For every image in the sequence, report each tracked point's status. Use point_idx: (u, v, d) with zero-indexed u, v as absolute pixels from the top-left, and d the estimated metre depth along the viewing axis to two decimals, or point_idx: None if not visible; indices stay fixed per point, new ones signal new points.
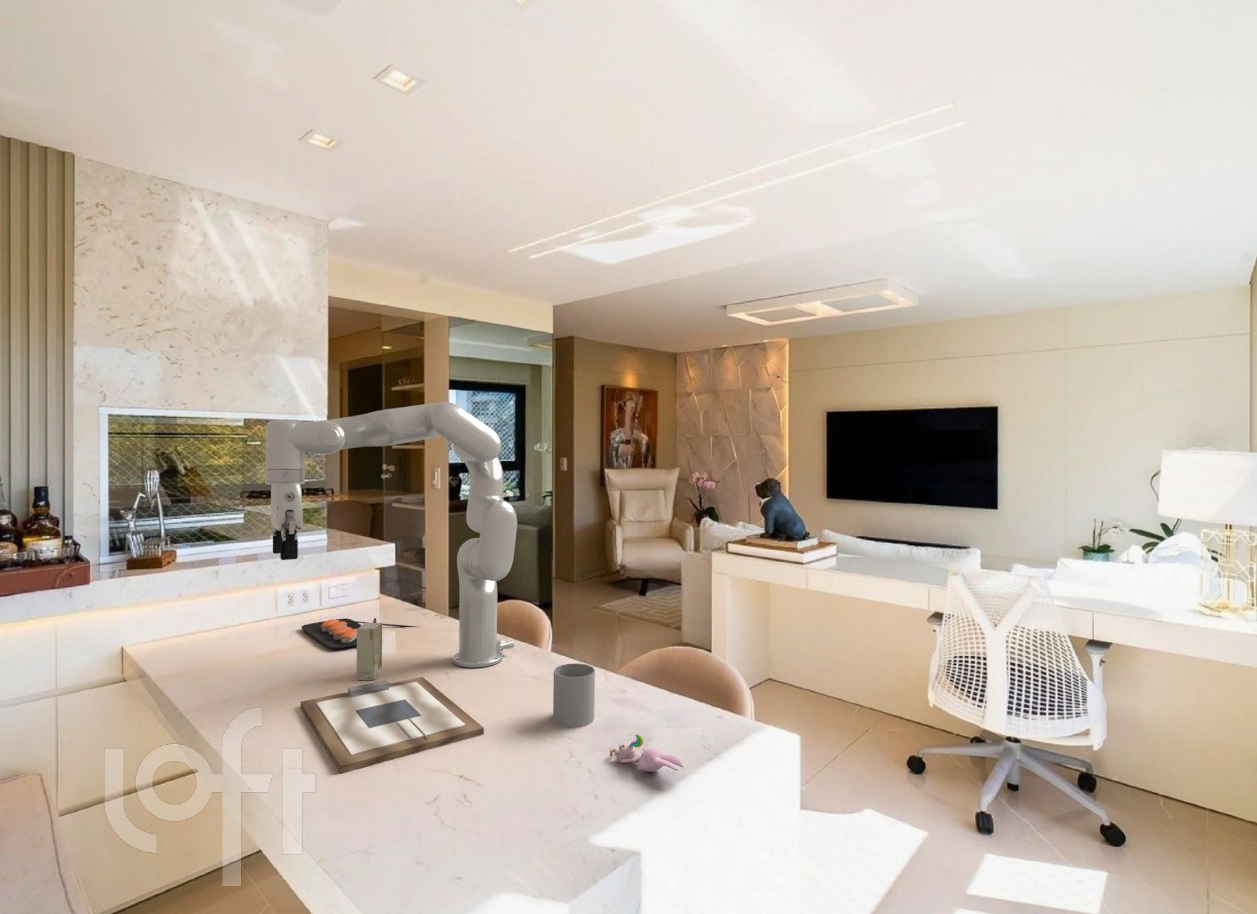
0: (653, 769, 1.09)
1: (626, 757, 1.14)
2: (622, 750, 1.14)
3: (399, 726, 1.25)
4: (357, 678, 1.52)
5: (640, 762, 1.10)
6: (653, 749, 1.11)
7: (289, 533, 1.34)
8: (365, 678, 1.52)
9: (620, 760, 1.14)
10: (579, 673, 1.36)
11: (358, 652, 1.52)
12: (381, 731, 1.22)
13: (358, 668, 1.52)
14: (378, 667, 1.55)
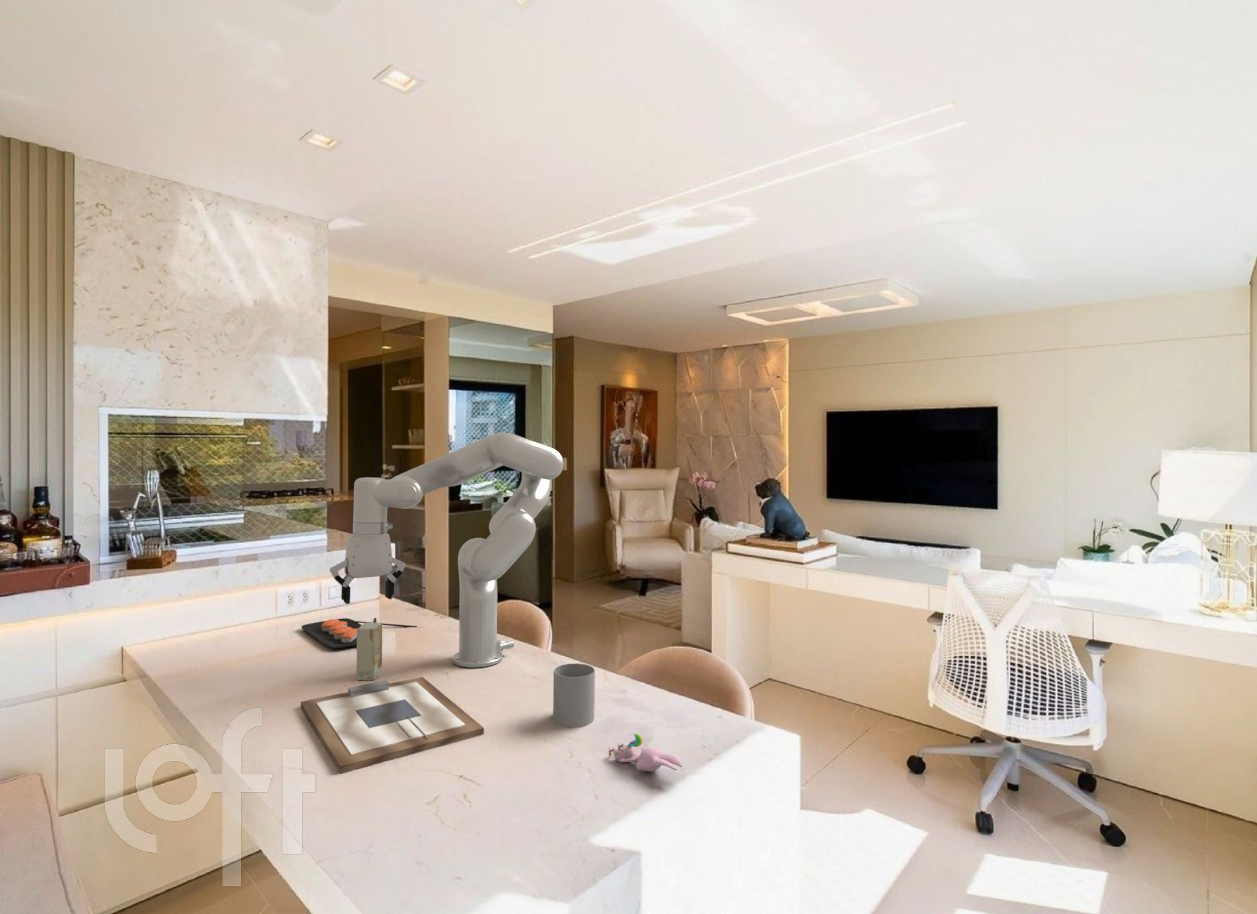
0: (652, 768, 1.10)
1: (625, 756, 1.14)
2: (621, 749, 1.14)
3: (399, 726, 1.25)
4: (357, 678, 1.52)
5: (639, 761, 1.10)
6: (652, 749, 1.11)
7: None
8: (365, 678, 1.52)
9: (619, 759, 1.14)
10: (579, 673, 1.36)
11: (358, 652, 1.52)
12: (381, 731, 1.22)
13: (358, 668, 1.52)
14: (378, 667, 1.55)
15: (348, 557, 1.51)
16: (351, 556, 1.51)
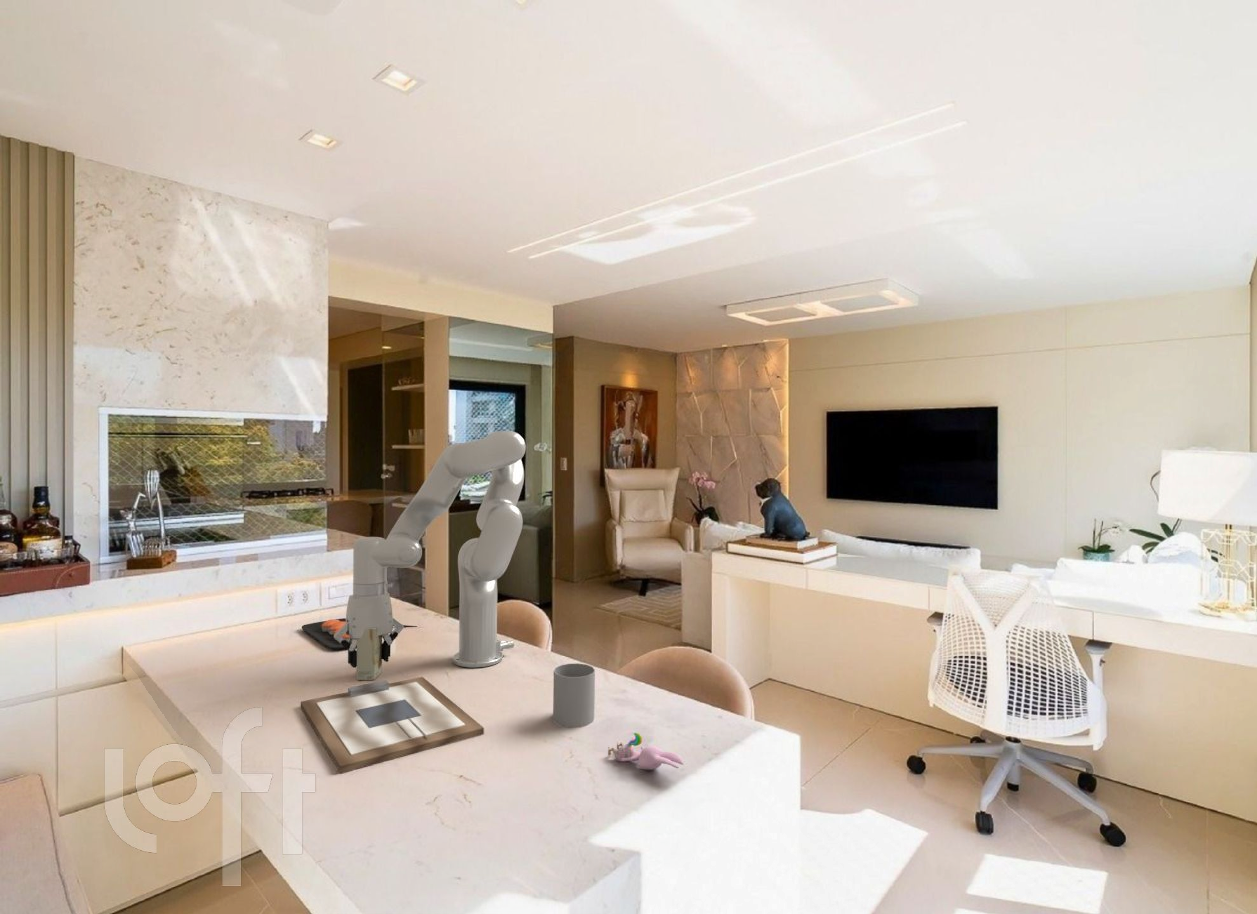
0: (653, 767, 1.10)
1: (625, 755, 1.14)
2: (621, 749, 1.15)
3: (399, 726, 1.25)
4: (357, 678, 1.52)
5: (640, 760, 1.11)
6: (652, 747, 1.12)
7: None
8: (365, 678, 1.52)
9: (619, 759, 1.14)
10: (579, 673, 1.36)
11: (358, 652, 1.52)
12: (381, 731, 1.22)
13: (358, 668, 1.52)
14: (378, 667, 1.55)
15: (349, 619, 1.52)
16: (352, 618, 1.51)
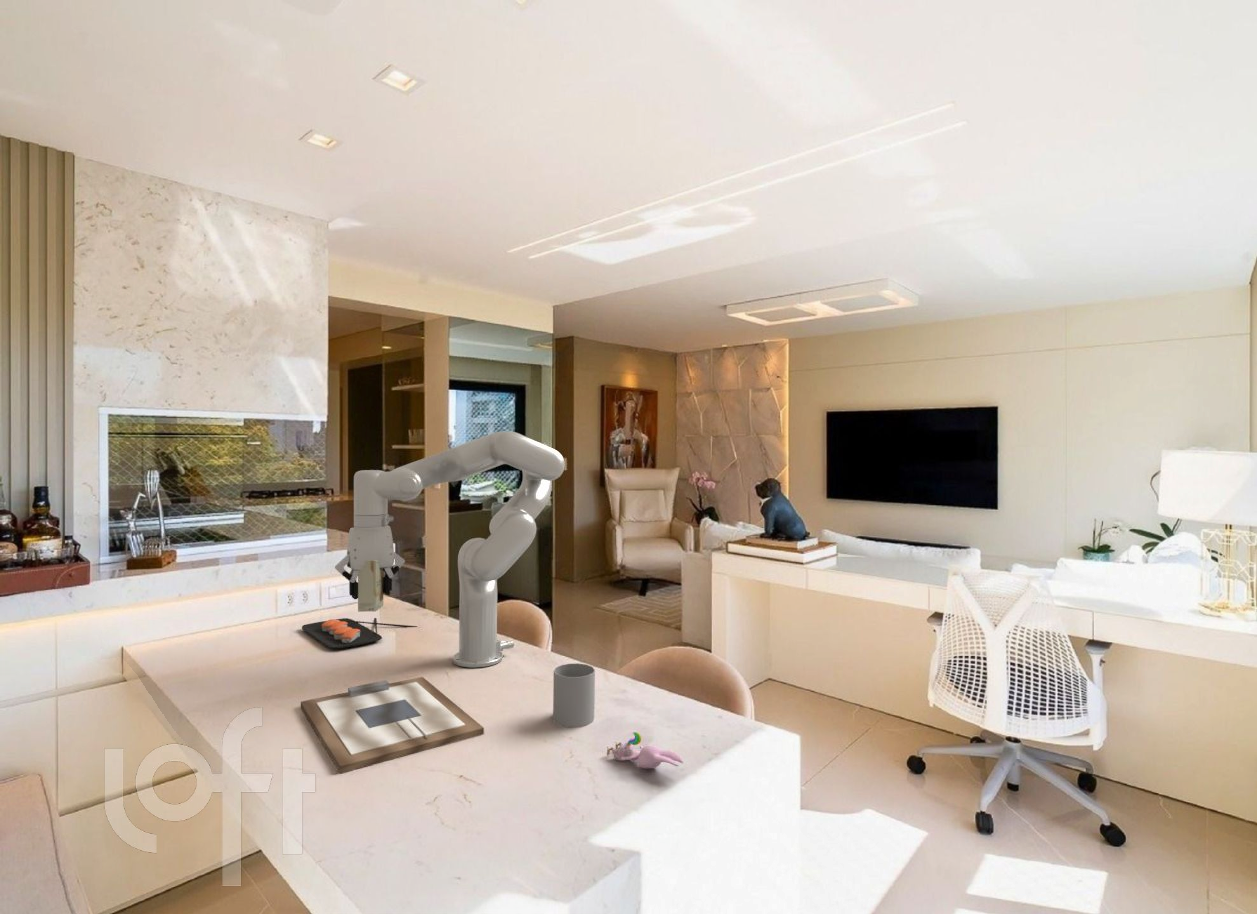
0: (653, 766, 1.11)
1: (624, 755, 1.14)
2: (620, 748, 1.15)
3: (399, 726, 1.25)
4: (359, 610, 1.52)
5: (639, 759, 1.11)
6: (652, 746, 1.12)
7: None
8: (367, 609, 1.52)
9: (618, 758, 1.15)
10: (579, 673, 1.36)
11: (359, 584, 1.52)
12: (381, 731, 1.22)
13: (359, 600, 1.52)
14: (379, 600, 1.55)
15: (350, 550, 1.51)
16: (353, 549, 1.51)
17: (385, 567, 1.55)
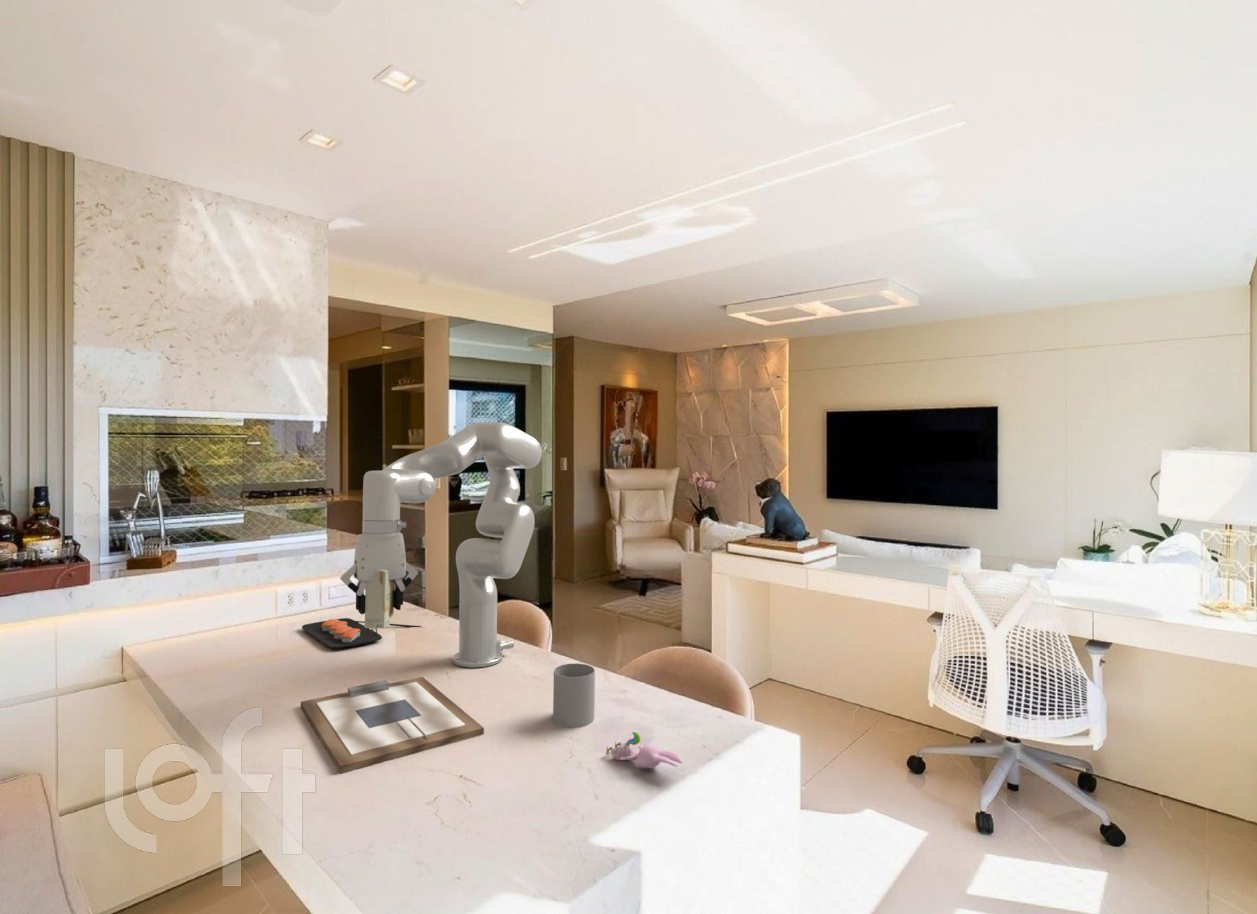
0: (651, 766, 1.11)
1: (623, 754, 1.14)
2: (619, 748, 1.15)
3: (399, 726, 1.25)
4: (365, 626, 1.36)
5: (638, 759, 1.11)
6: (651, 746, 1.12)
7: None
8: (374, 626, 1.36)
9: (617, 758, 1.15)
10: (579, 673, 1.36)
11: (367, 597, 1.36)
12: (381, 731, 1.22)
13: (367, 615, 1.36)
14: (389, 615, 1.39)
15: (357, 559, 1.36)
16: (360, 558, 1.35)
17: (396, 579, 1.39)
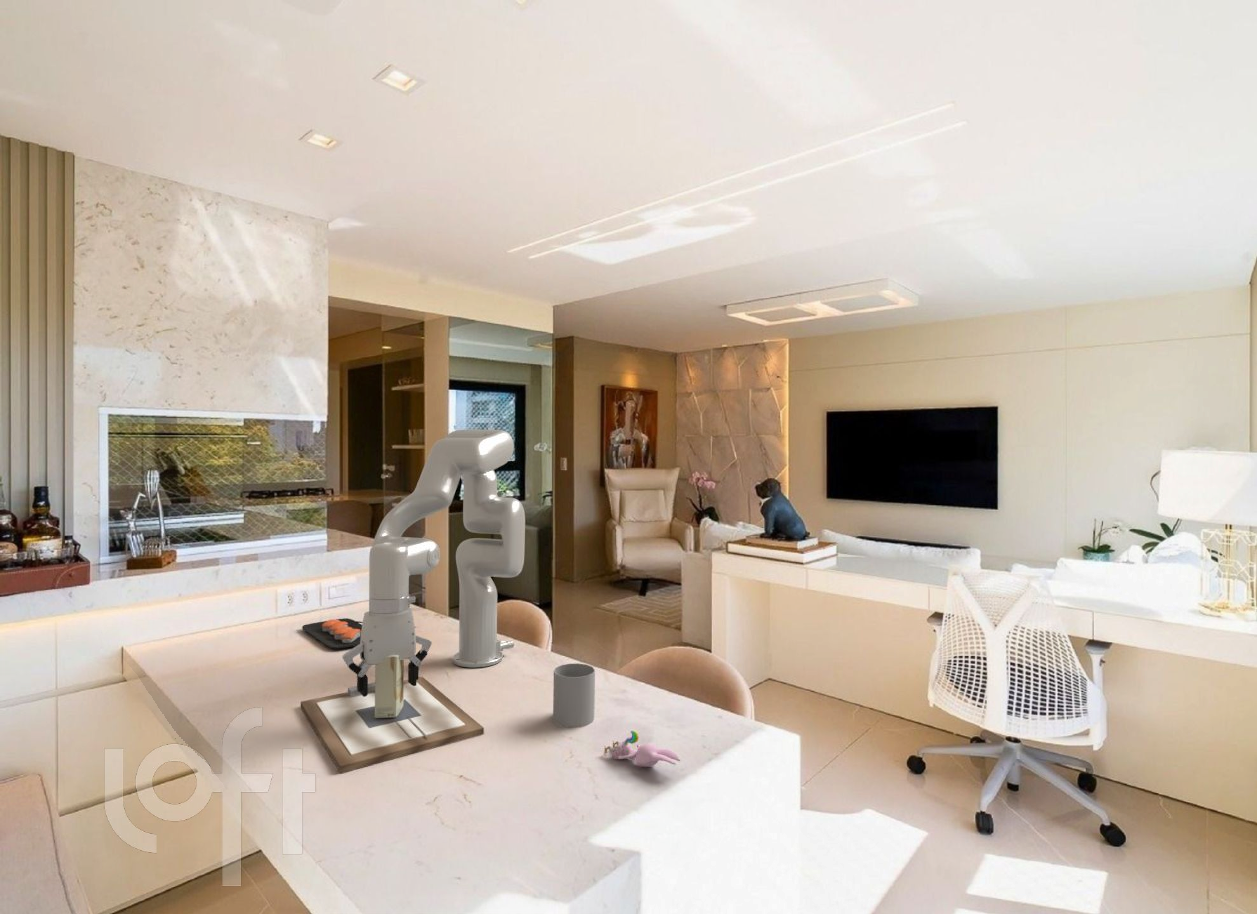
0: (650, 764, 1.11)
1: (621, 753, 1.15)
2: (617, 747, 1.15)
3: (399, 726, 1.25)
4: (376, 716, 1.28)
5: (637, 758, 1.12)
6: (649, 744, 1.13)
7: None
8: (385, 715, 1.28)
9: (615, 757, 1.15)
10: (579, 673, 1.36)
11: (377, 685, 1.28)
12: (381, 731, 1.22)
13: (377, 704, 1.28)
14: (400, 702, 1.31)
15: (364, 641, 1.27)
16: (368, 640, 1.26)
17: (405, 658, 1.31)
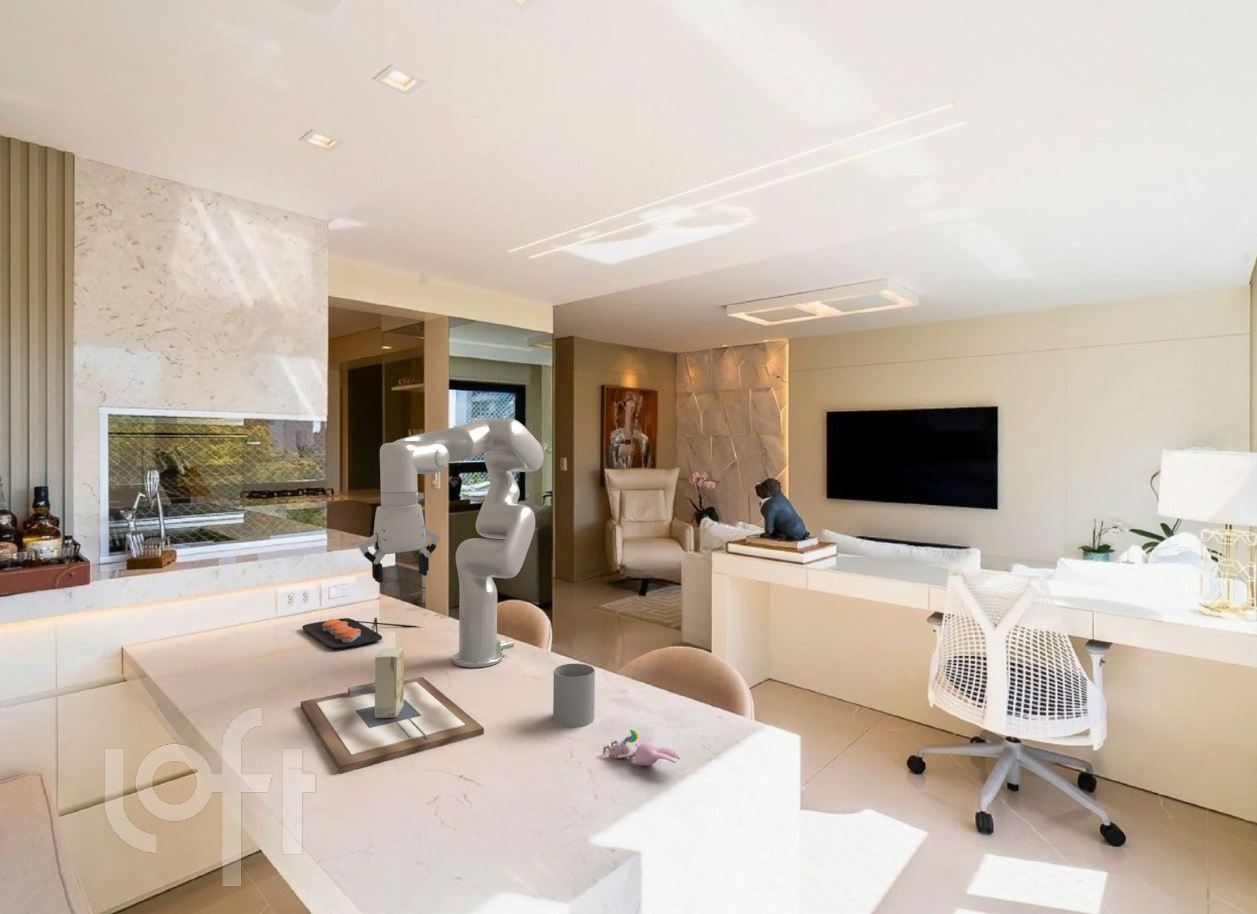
0: (650, 763, 1.12)
1: (621, 752, 1.15)
2: (616, 746, 1.16)
3: (399, 726, 1.25)
4: (376, 716, 1.28)
5: (637, 756, 1.12)
6: (649, 743, 1.13)
7: None
8: (385, 715, 1.28)
9: (615, 756, 1.15)
10: (579, 673, 1.36)
11: (377, 685, 1.28)
12: (381, 731, 1.22)
13: (377, 704, 1.28)
14: (400, 702, 1.31)
15: (378, 531, 1.36)
16: (381, 530, 1.36)
17: (416, 549, 1.41)
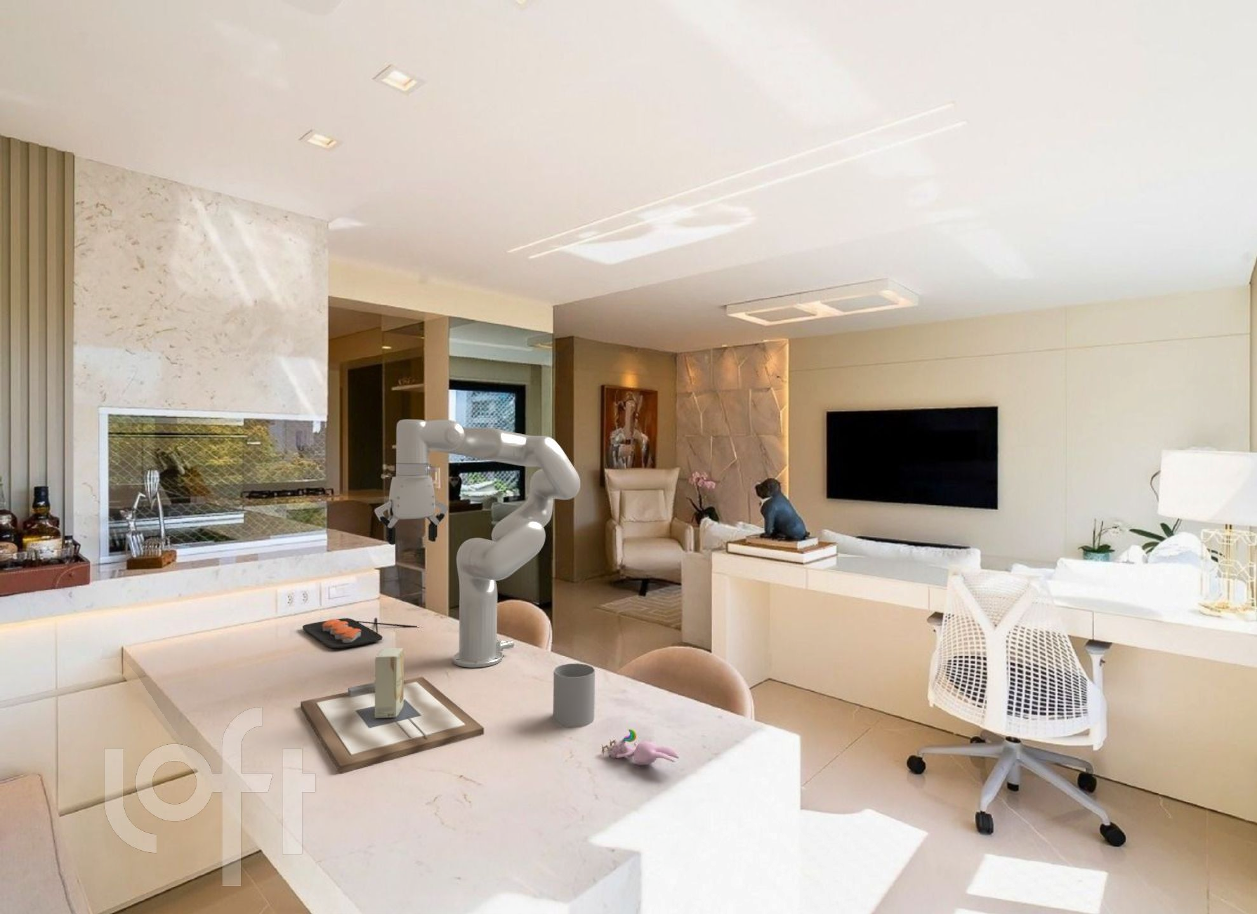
0: (648, 762, 1.12)
1: (619, 752, 1.15)
2: (615, 745, 1.16)
3: (399, 726, 1.25)
4: (376, 716, 1.28)
5: (635, 756, 1.12)
6: (647, 742, 1.14)
7: None
8: (385, 715, 1.28)
9: (613, 755, 1.16)
10: (579, 673, 1.36)
11: (377, 685, 1.28)
12: (381, 731, 1.22)
13: (377, 704, 1.28)
14: (400, 702, 1.31)
15: (392, 498, 1.51)
16: (396, 497, 1.51)
17: (426, 517, 1.55)
